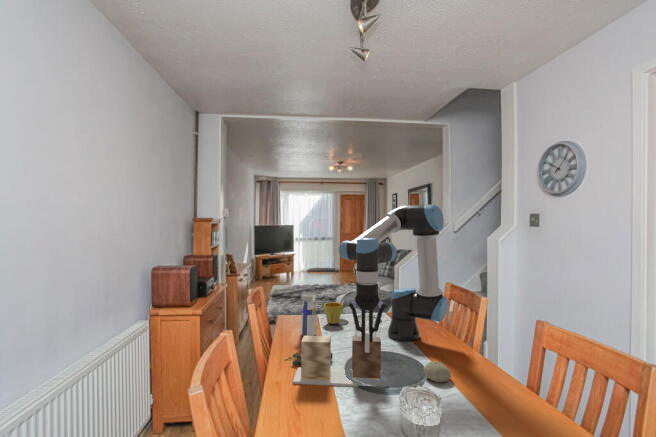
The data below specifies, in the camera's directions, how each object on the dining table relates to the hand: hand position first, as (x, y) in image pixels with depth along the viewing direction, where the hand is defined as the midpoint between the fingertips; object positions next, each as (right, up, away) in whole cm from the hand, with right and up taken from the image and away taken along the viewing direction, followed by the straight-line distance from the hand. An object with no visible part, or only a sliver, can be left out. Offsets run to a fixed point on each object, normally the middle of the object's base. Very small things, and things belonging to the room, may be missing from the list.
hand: (367, 350), depth 115 cm
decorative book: (-22, -12, +18) cm, 31 cm away
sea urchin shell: (+27, -12, +7) cm, 30 cm away
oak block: (-18, -11, +5) cm, 21 cm away
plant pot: (-11, -12, +70) cm, 72 cm away
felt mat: (-9, -12, +4) cm, 15 cm away
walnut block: (0, -11, +4) cm, 11 cm away
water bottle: (-23, -12, +51) cm, 57 cm away
